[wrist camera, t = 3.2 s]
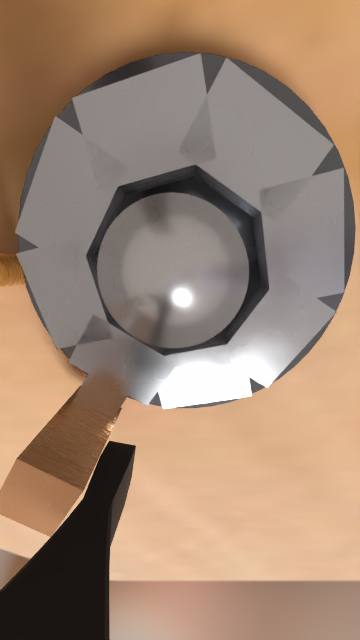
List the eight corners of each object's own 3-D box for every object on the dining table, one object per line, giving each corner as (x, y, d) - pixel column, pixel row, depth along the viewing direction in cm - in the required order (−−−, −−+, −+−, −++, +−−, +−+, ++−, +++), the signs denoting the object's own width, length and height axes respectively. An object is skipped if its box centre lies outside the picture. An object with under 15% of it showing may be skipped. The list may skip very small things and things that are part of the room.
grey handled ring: (120, 6, 6) (15, -372, 3) (394, 222, 8) (596, 185, 4) (-22, 384, 11) (-139, 453, 7) (166, 481, 12) (154, 585, 8)
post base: (383, 155, 9) (662, 6, 4) (256, 411, 13) (300, 516, 8) (66, 50, 8) (-140, -293, 3) (38, 348, 13) (-73, 414, 7)
